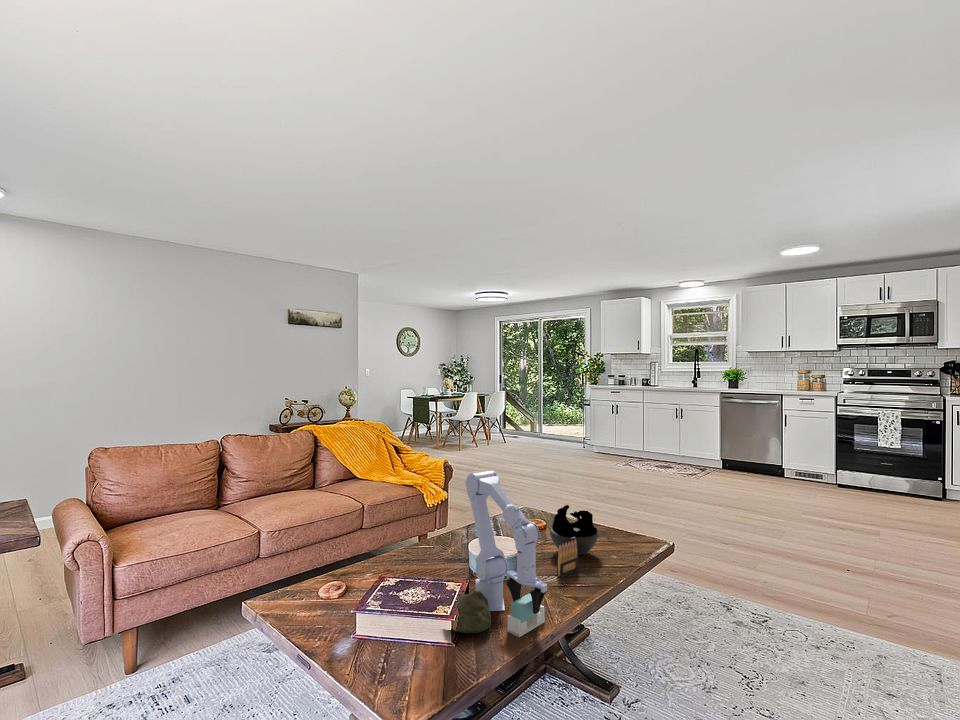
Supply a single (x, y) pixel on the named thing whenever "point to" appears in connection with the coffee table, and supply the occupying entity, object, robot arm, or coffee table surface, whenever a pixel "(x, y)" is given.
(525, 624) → the stand
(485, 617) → the decorative rock
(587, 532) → the coal bowl
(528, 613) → the teal block
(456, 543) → the coffee table surface
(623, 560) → the coffee table surface
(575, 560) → the ammunition clip
